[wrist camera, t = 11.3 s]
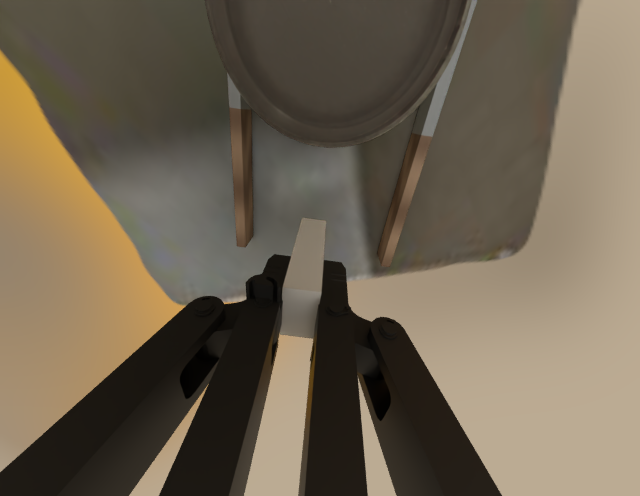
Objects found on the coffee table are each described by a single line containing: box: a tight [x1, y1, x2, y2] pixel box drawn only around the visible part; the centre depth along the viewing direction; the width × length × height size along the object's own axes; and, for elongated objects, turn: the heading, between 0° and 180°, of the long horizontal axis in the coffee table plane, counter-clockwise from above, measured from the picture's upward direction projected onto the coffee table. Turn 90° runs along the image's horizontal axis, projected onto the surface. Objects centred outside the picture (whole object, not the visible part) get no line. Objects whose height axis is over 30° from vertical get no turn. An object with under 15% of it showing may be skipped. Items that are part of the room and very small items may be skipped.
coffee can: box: [205, 0, 472, 148], centre depth 15 cm, size 10×10×14 cm
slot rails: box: [229, 107, 432, 267], centre depth 26 cm, size 14×18×3 cm
